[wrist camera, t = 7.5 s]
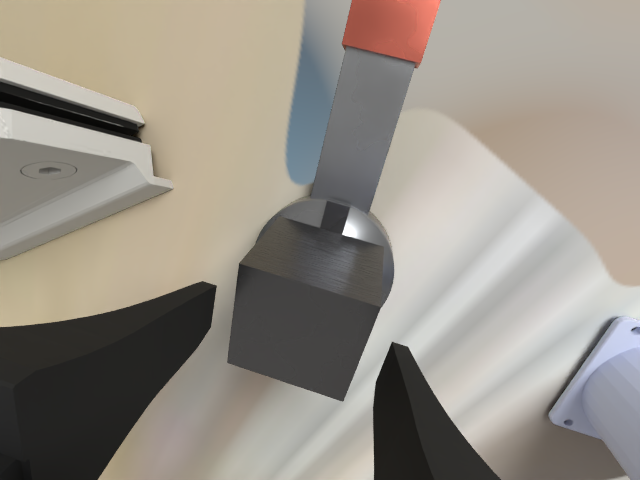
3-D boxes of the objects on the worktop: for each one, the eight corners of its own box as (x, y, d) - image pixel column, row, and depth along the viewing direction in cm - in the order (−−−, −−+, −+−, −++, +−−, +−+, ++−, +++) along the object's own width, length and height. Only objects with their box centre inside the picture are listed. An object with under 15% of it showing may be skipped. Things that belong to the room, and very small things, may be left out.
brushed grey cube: (384, 246, 16) (380, 307, 12) (354, 327, 19) (343, 401, 15) (279, 215, 17) (239, 263, 12) (264, 299, 19) (227, 362, 15)
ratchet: (573, -220, 12) (684, -421, 7) (369, 332, 21) (367, 385, 16) (359, -256, 12) (347, -460, 8) (253, 295, 21) (221, 337, 17)
